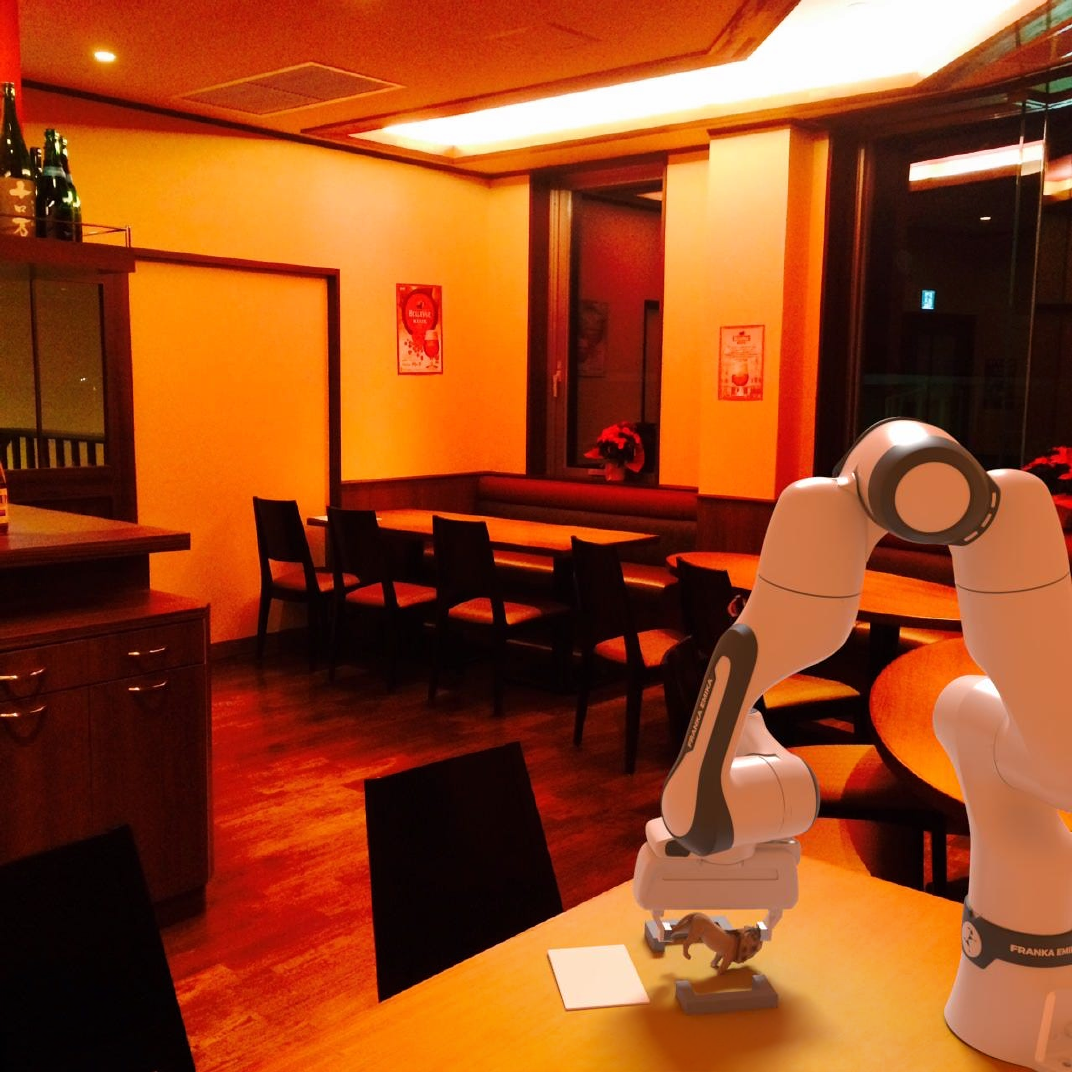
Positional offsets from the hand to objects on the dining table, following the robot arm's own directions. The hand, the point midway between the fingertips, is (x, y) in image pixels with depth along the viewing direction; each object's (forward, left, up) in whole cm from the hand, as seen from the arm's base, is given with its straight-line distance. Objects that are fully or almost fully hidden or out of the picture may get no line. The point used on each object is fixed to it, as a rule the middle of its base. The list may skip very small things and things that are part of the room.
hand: (712, 939), depth 132 cm
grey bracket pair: (+1, 0, -4) cm, 4 cm away
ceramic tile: (+15, 0, -4) cm, 15 cm away
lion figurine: (+2, 0, -3) cm, 4 cm away
